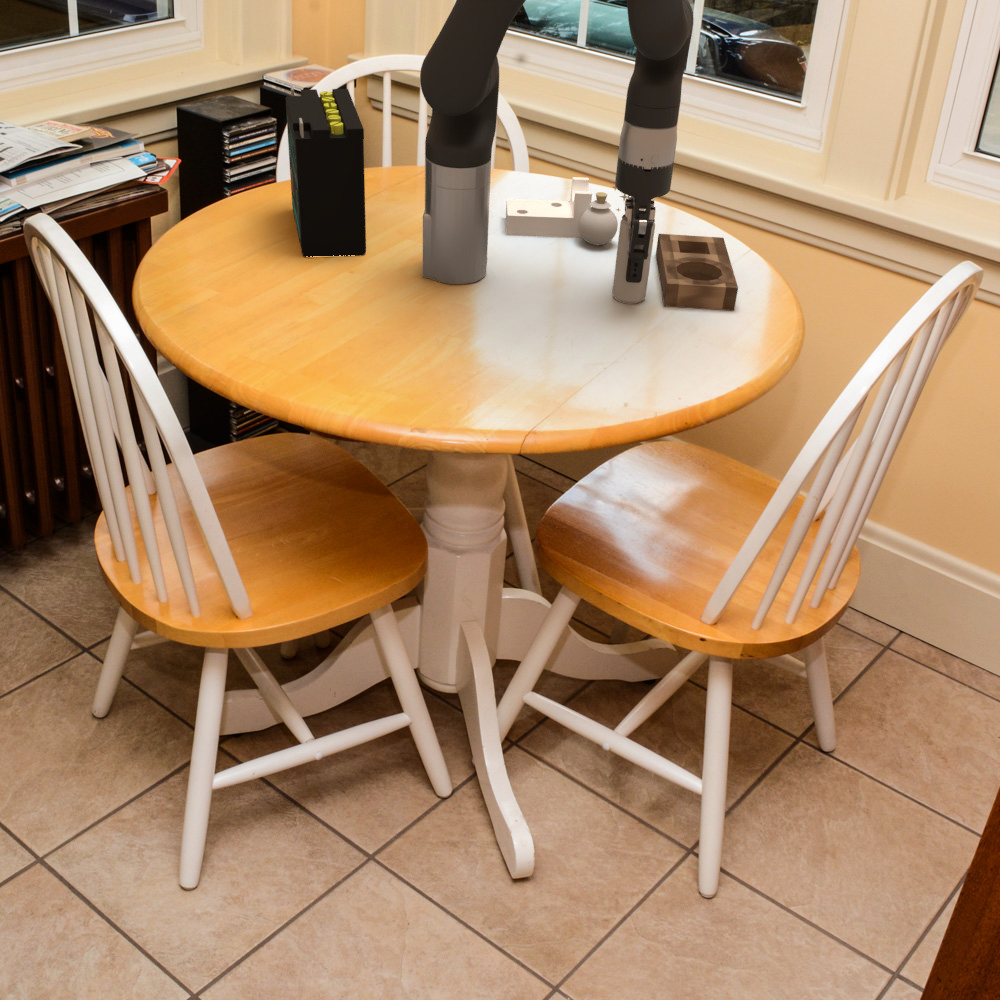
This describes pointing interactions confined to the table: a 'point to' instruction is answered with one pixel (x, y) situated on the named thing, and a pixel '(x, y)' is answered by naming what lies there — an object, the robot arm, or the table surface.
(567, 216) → the bracket
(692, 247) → the walnut bore block
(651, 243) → the beverage can
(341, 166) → the battery
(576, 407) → the table surface
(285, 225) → the table surface
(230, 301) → the table surface
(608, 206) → the round potion bottle
